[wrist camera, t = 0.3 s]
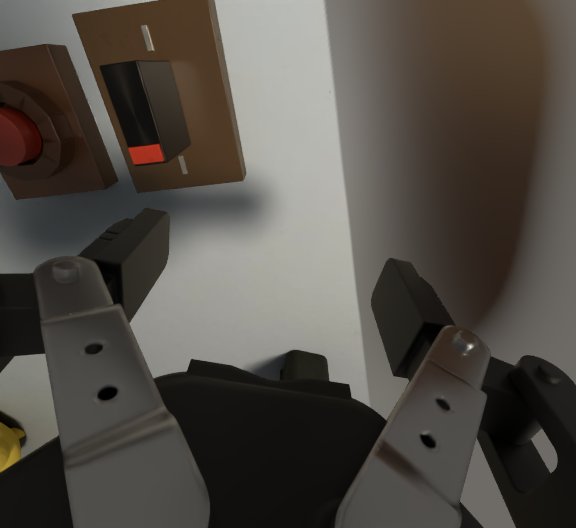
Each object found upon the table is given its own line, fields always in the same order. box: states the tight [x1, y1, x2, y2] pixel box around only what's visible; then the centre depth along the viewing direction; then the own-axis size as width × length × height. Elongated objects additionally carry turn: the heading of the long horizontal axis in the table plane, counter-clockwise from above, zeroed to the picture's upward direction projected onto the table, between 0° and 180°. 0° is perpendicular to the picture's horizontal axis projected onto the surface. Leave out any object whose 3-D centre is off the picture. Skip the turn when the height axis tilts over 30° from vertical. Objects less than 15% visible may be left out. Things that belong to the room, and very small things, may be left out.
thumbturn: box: [99, 60, 191, 167], centre depth 21 cm, size 6×2×6 cm, turn 7°
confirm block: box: [0, 44, 118, 200], centre depth 25 cm, size 10×8×4 cm
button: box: [0, 107, 42, 166], centre depth 23 cm, size 4×4×2 cm
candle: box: [280, 350, 329, 381], centre depth 30 cm, size 5×5×25 cm
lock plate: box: [72, 0, 246, 193], centre depth 25 cm, size 12×9×2 cm
